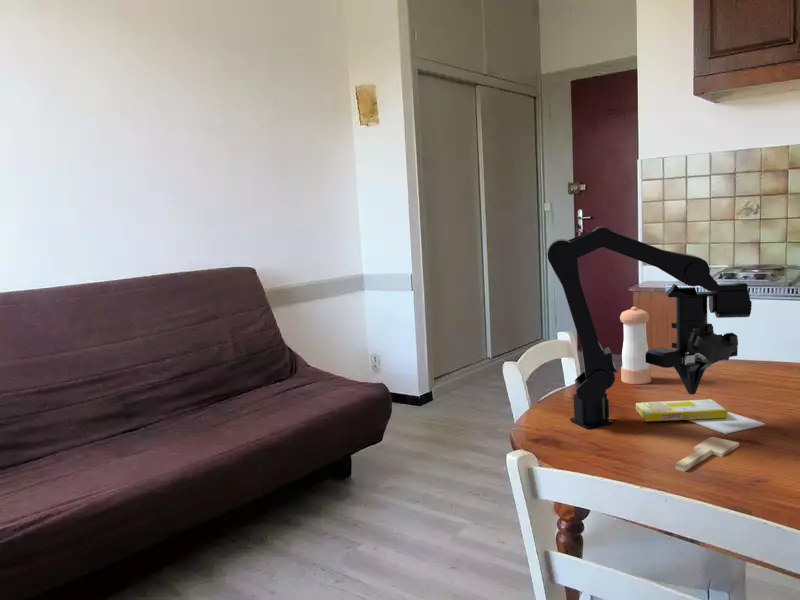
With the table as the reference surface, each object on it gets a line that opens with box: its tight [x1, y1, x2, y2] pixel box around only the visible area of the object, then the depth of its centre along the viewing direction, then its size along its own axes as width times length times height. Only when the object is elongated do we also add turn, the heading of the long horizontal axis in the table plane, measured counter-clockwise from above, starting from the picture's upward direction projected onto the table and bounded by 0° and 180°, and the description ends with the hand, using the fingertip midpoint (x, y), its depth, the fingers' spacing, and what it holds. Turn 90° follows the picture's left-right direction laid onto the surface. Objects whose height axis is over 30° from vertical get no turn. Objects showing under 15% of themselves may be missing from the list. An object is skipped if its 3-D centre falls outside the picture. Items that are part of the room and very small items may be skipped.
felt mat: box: [687, 411, 766, 435], centre depth 134 cm, size 10×16×1 cm, turn 20°
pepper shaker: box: [619, 306, 652, 385], centre depth 165 cm, size 7×7×19 cm
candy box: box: [635, 398, 728, 422], centre depth 137 cm, size 16×2×8 cm
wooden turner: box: [674, 436, 740, 472], centre depth 116 cm, size 17×5×1 cm, turn 130°
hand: (691, 394), depth 132 cm, fingers closed
